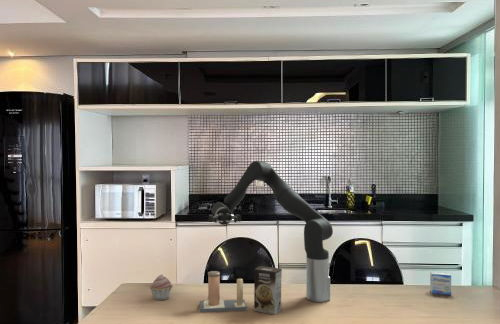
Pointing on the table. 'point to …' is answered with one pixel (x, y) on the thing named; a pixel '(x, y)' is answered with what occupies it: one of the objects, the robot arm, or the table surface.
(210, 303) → the spice jar
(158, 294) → the cupcake
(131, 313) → the table surface
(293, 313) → the table surface
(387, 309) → the table surface
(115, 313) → the table surface
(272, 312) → the coffee box
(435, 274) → the medicine box
